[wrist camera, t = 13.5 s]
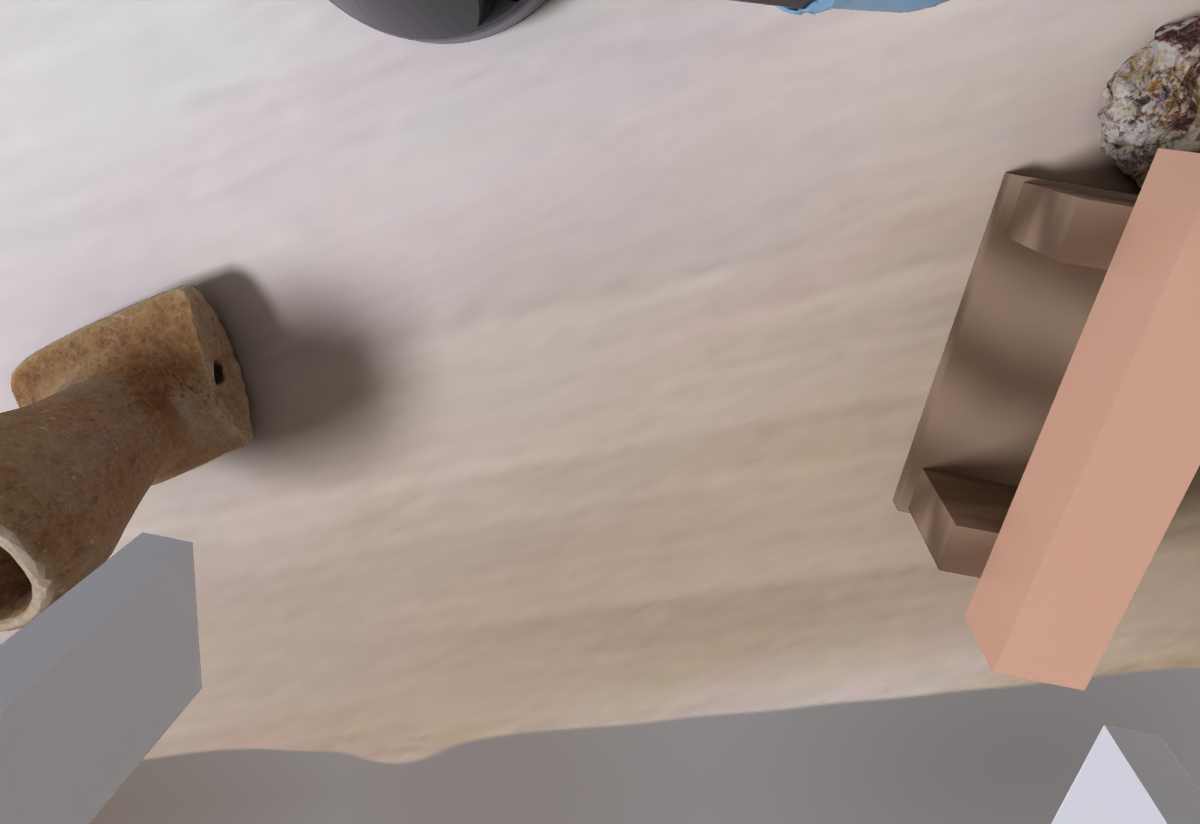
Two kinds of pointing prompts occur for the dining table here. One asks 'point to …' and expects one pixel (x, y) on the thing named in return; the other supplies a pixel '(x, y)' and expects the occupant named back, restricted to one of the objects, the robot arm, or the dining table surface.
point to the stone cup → (108, 438)
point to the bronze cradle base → (1006, 360)
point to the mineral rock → (1154, 100)
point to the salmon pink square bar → (1105, 451)
